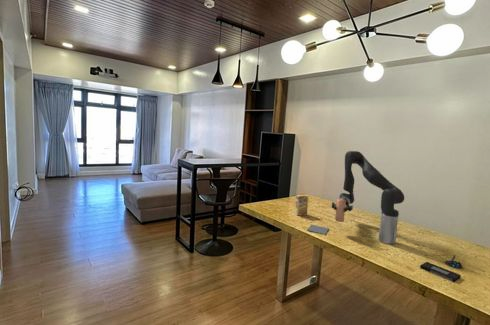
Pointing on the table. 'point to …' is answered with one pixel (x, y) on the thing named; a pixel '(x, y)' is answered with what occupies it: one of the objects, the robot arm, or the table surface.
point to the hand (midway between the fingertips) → (340, 209)
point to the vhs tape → (440, 271)
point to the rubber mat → (318, 229)
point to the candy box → (301, 205)
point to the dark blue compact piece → (454, 263)
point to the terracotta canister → (340, 210)
